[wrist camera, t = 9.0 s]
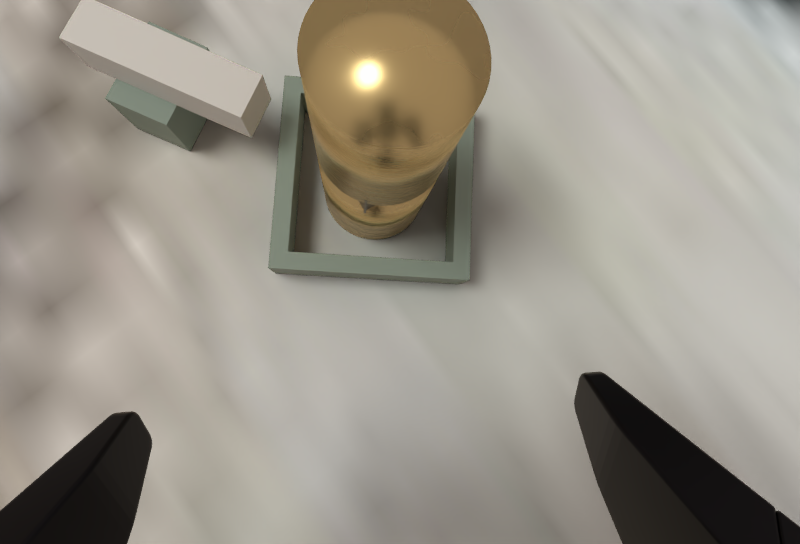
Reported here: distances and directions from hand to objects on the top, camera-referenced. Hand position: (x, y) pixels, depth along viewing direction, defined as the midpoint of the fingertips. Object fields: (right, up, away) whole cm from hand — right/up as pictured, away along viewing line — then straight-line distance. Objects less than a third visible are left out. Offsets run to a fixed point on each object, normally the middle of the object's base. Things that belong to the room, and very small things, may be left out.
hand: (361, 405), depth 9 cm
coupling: (-1, +7, +14) cm, 16 cm away
